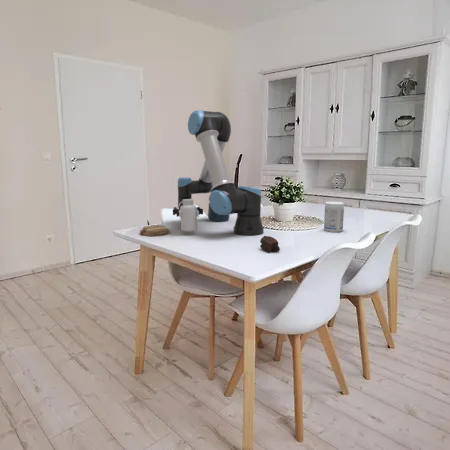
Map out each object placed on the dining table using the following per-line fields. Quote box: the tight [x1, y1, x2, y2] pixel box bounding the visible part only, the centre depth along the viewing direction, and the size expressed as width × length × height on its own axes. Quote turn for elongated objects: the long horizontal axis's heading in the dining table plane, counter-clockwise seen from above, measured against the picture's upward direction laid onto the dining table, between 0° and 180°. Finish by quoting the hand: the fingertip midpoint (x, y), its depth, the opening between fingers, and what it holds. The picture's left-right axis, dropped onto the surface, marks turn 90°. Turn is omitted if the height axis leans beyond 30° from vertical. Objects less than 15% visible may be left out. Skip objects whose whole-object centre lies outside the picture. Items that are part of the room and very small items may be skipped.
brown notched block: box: [259, 235, 281, 253], centre depth 153 cm, size 6×7×10 cm
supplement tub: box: [323, 201, 345, 233], centre depth 192 cm, size 10×10×15 cm
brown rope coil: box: [139, 224, 170, 237], centre depth 183 cm, size 14×14×3 cm
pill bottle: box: [180, 198, 198, 232], centre depth 181 cm, size 8×8×15 cm
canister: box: [207, 197, 231, 222], centre depth 219 cm, size 13×13×18 cm
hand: (189, 214), depth 177 cm, fingers closed on pill bottle, 8 cm apart
